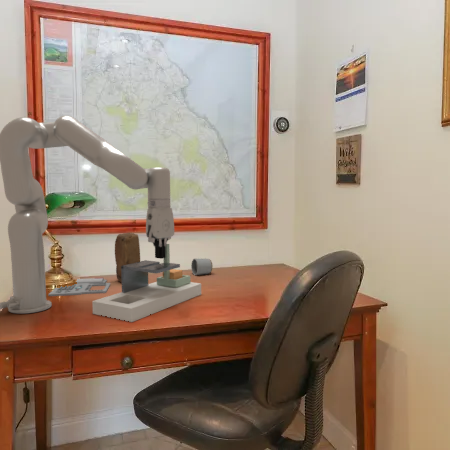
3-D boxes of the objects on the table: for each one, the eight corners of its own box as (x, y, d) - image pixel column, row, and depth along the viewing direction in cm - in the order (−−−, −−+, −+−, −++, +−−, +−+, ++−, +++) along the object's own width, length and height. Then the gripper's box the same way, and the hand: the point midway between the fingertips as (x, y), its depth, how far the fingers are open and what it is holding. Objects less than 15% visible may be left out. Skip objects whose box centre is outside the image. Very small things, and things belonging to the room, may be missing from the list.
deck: (131, 322, 118) (131, 308, 118) (92, 313, 126) (92, 301, 126) (201, 294, 149) (201, 283, 149) (166, 289, 157) (166, 278, 157)
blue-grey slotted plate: (62, 277, 170) (112, 275, 173) (63, 283, 170) (112, 281, 173) (48, 290, 147) (105, 288, 150) (48, 297, 147) (105, 295, 150)
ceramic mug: (213, 274, 183) (213, 258, 182) (197, 276, 179) (197, 259, 179) (203, 271, 192) (203, 255, 191) (188, 272, 188) (188, 256, 188)
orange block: (174, 286, 144) (173, 272, 143) (162, 285, 146) (162, 271, 146) (182, 284, 148) (182, 270, 148) (171, 282, 151) (171, 268, 150)
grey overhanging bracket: (157, 298, 128) (156, 270, 128) (121, 292, 136) (121, 265, 135) (180, 290, 139) (179, 264, 138) (146, 285, 146) (145, 260, 145)
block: (142, 282, 168) (141, 234, 167) (125, 285, 163) (124, 235, 162) (129, 278, 177) (128, 231, 175) (113, 280, 172) (111, 233, 170)
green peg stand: (175, 287, 142) (174, 245, 140) (156, 284, 146) (155, 243, 145) (190, 282, 149) (190, 242, 148) (171, 280, 154) (171, 240, 152)
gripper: (153, 205, 131) (154, 262, 132) (181, 203, 143) (182, 255, 145) (135, 204, 134) (136, 260, 136) (164, 203, 147) (165, 254, 149)
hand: (160, 257), depth 141 cm, fingers closed
